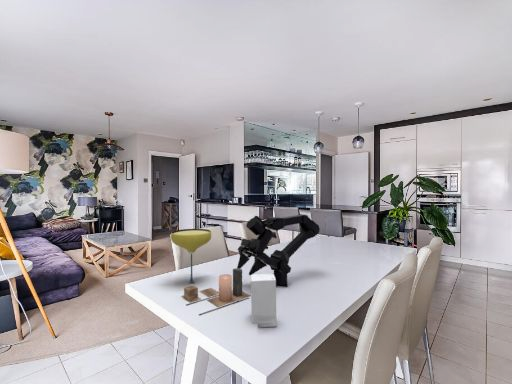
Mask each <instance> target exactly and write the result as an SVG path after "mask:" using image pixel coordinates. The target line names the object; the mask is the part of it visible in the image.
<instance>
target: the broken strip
mask: <svg viewBox="0 0 512 384" xmlns="http://www.w3.org/2000/svg"><path fill="white" fill-rule="evenodd" d="M198 293H200V294H202V295H203V296H206V298H209V297H212V296H216V295H219V290H218V291H217V290H216V289H214V288H213V287H208V288H205V289H202V290H198ZM180 297H181V298H182V299H184V300H185V301H187V302H188V304H189V303H193V302H196V301H199V300H202V298H201V297H199V296H198V298H196V299H193V300H189V301H188V300H187V299H186V298H184V294H183V295H181V296H180Z"/></svg>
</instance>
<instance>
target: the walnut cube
mask: <svg viewBox="0 0 512 384" xmlns="http://www.w3.org/2000/svg"><path fill="white" fill-rule="evenodd" d="M183 295H184V298H186V299H187V300H188V301H189V300H193V299H196V298H198V297H199V288H198V287H197V286H196V285H194V284H191V285H187V286H184V287H183ZM184 298H183V299H184ZM187 300H186V301H187ZM188 301H187V302H188Z"/></svg>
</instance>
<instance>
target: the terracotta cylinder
mask: <svg viewBox="0 0 512 384" xmlns="http://www.w3.org/2000/svg"><path fill="white" fill-rule="evenodd" d="M232 290H233V275H231V274H228V273H226V274H225V273H224V274H220V275H219V276H218V292H219V294H218V295H219V301H221V302H228V301H231V300H232Z"/></svg>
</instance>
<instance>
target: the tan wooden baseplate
mask: <svg viewBox="0 0 512 384" xmlns="http://www.w3.org/2000/svg"><path fill="white" fill-rule="evenodd" d="M232 290H233V292H232V300H231V301H228V302H221V301H219V296H217V297H213V298H210V299H207V300H206V301H207V302H208V303H210V304H212V305H213V306H215V307H216V308H219V307H222V306H225V305H228V304H230V303H233V302H236V301H239V300H242V299H245V298H250V297H251V294H249V293H247V292H245V291H243V269H242V268H241V269H239V268H237V267H236V268H233V269H232Z"/></svg>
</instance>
